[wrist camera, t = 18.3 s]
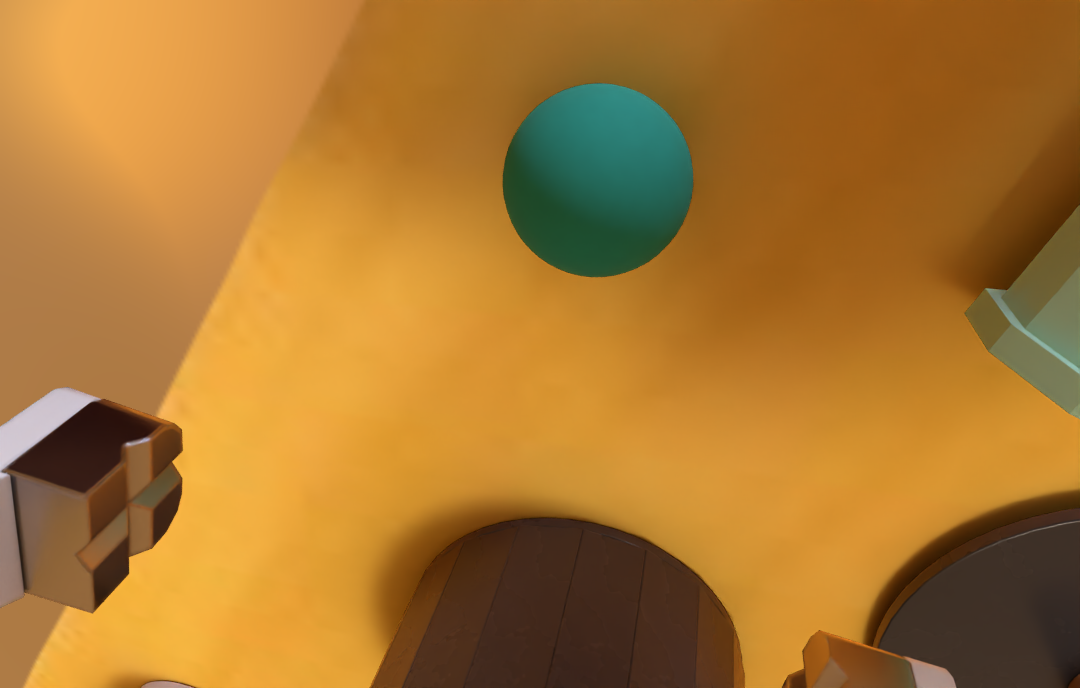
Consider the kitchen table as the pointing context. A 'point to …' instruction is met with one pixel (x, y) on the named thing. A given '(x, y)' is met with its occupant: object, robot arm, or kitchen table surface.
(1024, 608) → the pot lid
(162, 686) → the lumpy-topped squat cylinder
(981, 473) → the kitchen table surface
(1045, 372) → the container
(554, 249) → the ball
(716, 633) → the pot
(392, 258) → the kitchen table surface
